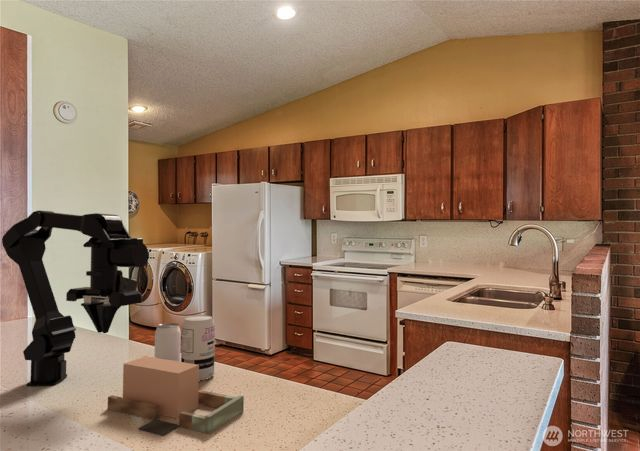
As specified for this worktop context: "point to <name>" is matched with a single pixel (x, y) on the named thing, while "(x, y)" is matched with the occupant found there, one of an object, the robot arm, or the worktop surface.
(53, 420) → the worktop surface
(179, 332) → the can
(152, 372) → the brick
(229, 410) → the lane
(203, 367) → the supplement can
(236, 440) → the worktop surface
